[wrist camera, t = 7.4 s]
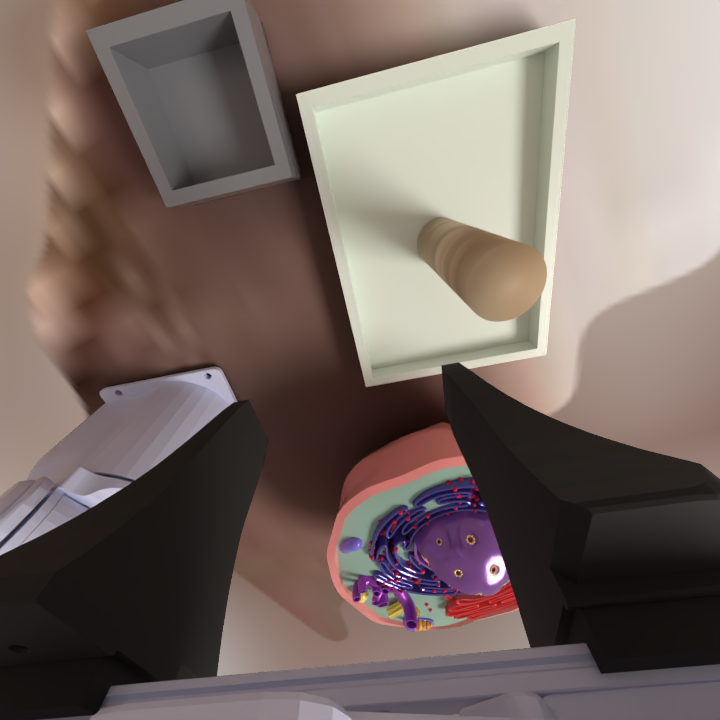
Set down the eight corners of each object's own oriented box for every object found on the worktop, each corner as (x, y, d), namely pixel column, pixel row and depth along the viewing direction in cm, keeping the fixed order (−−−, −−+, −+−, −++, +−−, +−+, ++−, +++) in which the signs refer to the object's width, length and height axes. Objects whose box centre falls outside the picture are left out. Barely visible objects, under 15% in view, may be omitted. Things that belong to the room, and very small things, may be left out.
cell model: (322, 528, 32) (307, 681, 22) (349, 359, 23) (344, 493, 13) (480, 542, 34) (532, 691, 24) (568, 388, 24) (717, 529, 14)
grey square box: (196, 204, 18) (166, 207, 15) (137, 60, 15) (85, 30, 12) (302, 178, 17) (292, 176, 14) (262, 23, 14) (239, -17, 11)
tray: (365, 373, 23) (365, 387, 22) (301, 103, 16) (295, 94, 14) (532, 342, 22) (546, 354, 20) (552, 36, 14) (576, 18, 13)
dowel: (422, 270, 19) (472, 331, 11) (412, 226, 18) (460, 258, 10) (465, 256, 19) (548, 308, 11) (457, 210, 17) (545, 231, 10)
